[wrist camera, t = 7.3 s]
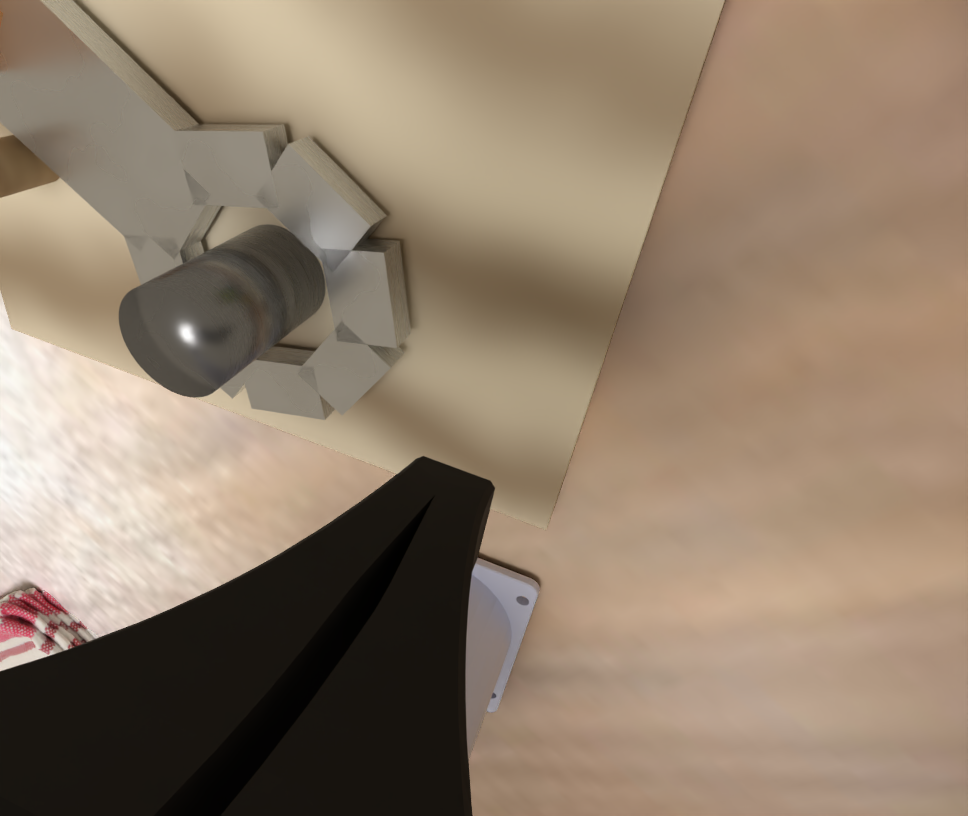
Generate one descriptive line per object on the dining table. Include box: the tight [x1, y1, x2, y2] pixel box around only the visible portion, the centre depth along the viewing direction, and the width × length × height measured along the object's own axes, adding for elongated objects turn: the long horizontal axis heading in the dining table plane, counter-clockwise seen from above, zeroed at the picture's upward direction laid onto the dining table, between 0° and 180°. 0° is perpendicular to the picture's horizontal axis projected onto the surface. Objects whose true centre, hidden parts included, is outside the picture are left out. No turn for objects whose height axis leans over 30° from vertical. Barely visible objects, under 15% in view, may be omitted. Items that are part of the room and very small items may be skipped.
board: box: [0, 0, 726, 530], centre depth 20 cm, size 19×23×1 cm
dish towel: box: [0, 588, 99, 671], centre depth 48 cm, size 17×23×4 cm
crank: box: [0, 0, 411, 420], centre depth 18 cm, size 17×9×5 cm, turn 49°
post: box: [119, 224, 325, 398], centre depth 19 cm, size 3×3×5 cm
